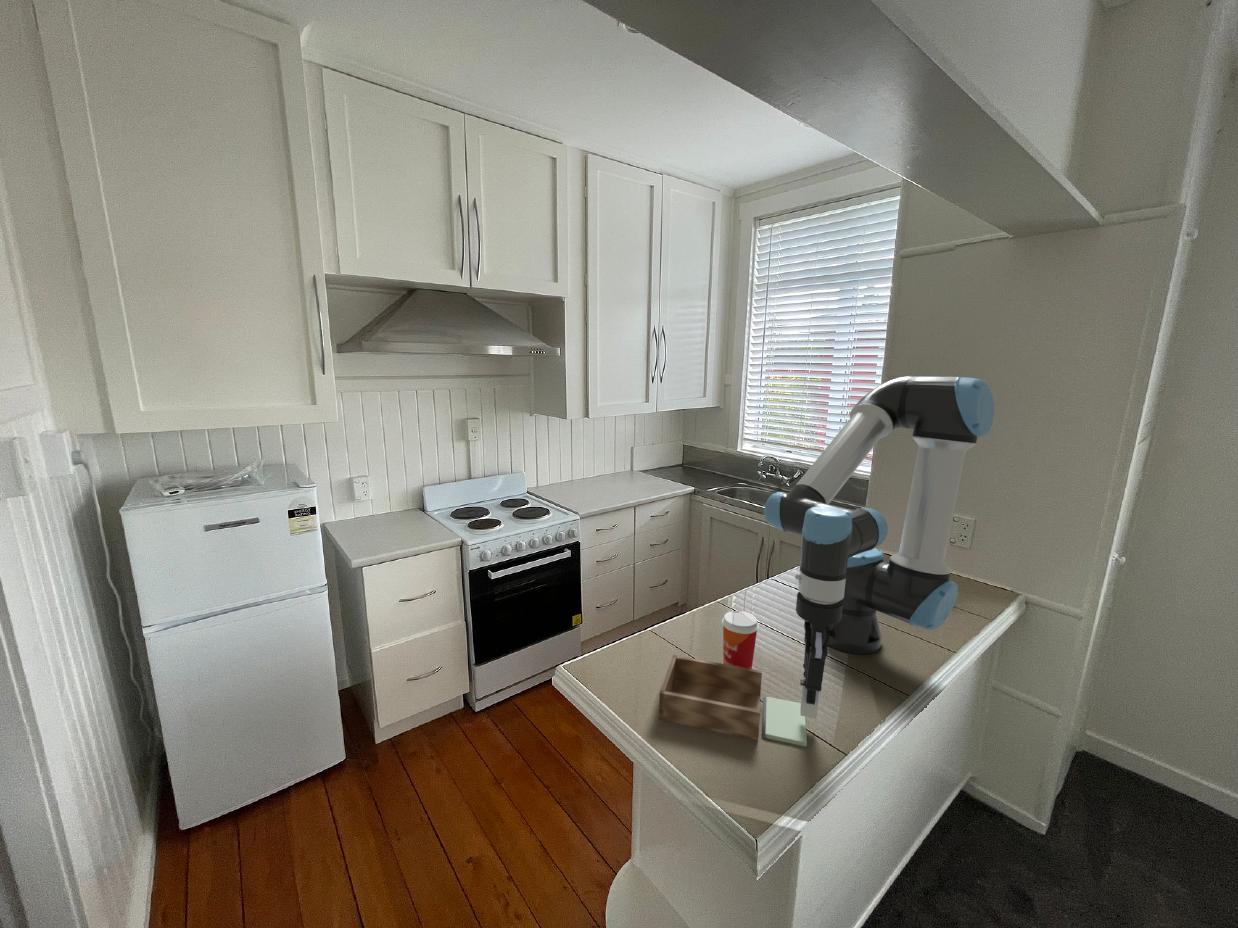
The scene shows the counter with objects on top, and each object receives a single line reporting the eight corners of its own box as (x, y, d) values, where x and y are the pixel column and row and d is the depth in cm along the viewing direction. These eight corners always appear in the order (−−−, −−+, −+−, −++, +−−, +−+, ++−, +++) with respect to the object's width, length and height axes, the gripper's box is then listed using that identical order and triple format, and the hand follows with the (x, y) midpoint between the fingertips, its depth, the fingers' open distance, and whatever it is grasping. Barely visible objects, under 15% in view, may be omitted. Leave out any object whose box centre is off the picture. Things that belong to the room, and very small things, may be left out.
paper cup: (714, 667, 113) (717, 609, 110) (748, 666, 113) (752, 608, 111) (724, 690, 105) (728, 628, 102) (760, 688, 106) (765, 627, 103)
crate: (759, 699, 102) (762, 670, 101) (757, 745, 90) (760, 712, 89) (672, 682, 107) (673, 654, 106) (658, 723, 95) (659, 692, 94)
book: (762, 702, 101) (803, 710, 99) (761, 741, 91) (806, 751, 88) (763, 695, 101) (803, 703, 99) (762, 733, 90) (807, 743, 88)
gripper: (796, 577, 96) (786, 689, 100) (798, 608, 83) (787, 734, 88) (839, 583, 93) (826, 696, 98) (848, 616, 81) (833, 744, 86)
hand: (808, 714), depth 93 cm, fingers closed
